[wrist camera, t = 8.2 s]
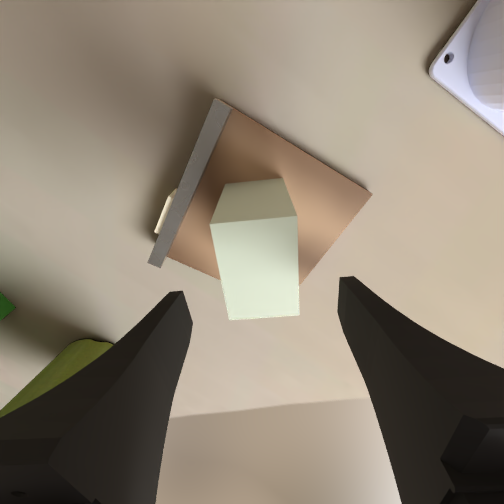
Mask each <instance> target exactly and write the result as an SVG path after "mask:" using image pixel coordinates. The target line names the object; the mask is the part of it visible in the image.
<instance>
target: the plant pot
mask: <svg viewBox="0 0 504 504" xmlns="http://www.w3.org/2000/svg"><path fill="white" fill-rule="evenodd" d="M112 346H113V344H111V343H108V342H96V341H93V340H91V339H83V340H78V341H75V342H73V343H71V344H70V345H68V346H67V347H66V348H65V349H64V350H63V351H62V352H61V353H60V354H59V355H58V356H57V357H56V358H55V359H54V360H53V361H52V362H50V363H49V364H48V365H47V366H46V367H45V368H44V369H43V370H42V371H41V372H40V373H39V374H38V375H37V376H36V377H35V378H34V379H33V380H32V381H31V382H30V383H29V384H28V385H26V386H25V387H24V388H23V389H22V390H21V391H20V392H19V393H18V394H17V395H16V396H15V397H14V398H13V399H12V400H11V401H10V402H9V403H8V404H7V405H6V406H5V407H4V408H2V409H1V410H0V418H1V417H2V416H4V415H6V414H8V413H10V412H12V411H13V410H15V409H17V408H19V407H21V406H23V405H25V404H26V403H28V402H30V401H32V400H33V399H35V398H37V397H39V396H40V395H42V394H44V393H45V392H47V391H49V390H50V389H52V388H54V387H55V386H57V385H58V384H60V383H62V382H63V381H65V380H66V379H68V378H69V377H71V376H72V375H74V374H75V373H77V372H78V371H80V370H81V369H82V368H84V367H85V366H87V365H88V364H90V363H91V362H92V361H94V360H95V359H97V358H98V357H99V356H100V355H102V354H103V353H104V352H106V351H107V350H108V349H109V348H111V347H112Z"/></svg>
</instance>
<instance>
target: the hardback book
mask: <svg viewBox="0 0 504 504" xmlns="http://www.w3.org/2000/svg"><path fill="white" fill-rule="evenodd" d="M15 308H16V307H15V306H14V305H13V304H12V303H11V302H10V301H9V300H8V299H7V298H6V297H5V296H4V295H3V294H2V293H1V292H0V321H1V320H2V319H3V318H4V317H5V316H7V315H8V314H9V313H10V312H11V311H13V310H14V309H15Z"/></svg>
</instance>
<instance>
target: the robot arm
mask: <svg viewBox="0 0 504 504" xmlns="http://www.w3.org/2000/svg"><path fill="white" fill-rule="evenodd" d="M446 54H448V55H449V60H448V62H447V63H445V62H444V57H445V55H446ZM429 75H430V77H431V78H432V79H434V80H435V81H436V82H437V83H438V84H440V85H441V86H442V87H443V88H445V89H446V90H447V91H448V92H450V93H451V94H452V95H453V96H455V97H456V98H457V99H458V100H460V101H461V102H462V103H463V104H465V105H466V106H467V107H468V108H469V109H471V110H472V111H473V112H474V113H476V114H477V115H478V116H479V117H481V118H482V119H483V120H484V121H486V122H487V123H488V124H489V125H491V126H492V127H493V128H494V129H495V130H497V131H498V132H499V133H500V134H502V135H503V136H504V0H478V1H477V2H476V3H475V5H474V6H473V7H472V9H471V10H470V12H469V13H468V14H467V16H466V17H465V18H464V20H463V21H462V23H461V24H460V25H459V27H458V28H457V29H456V31H455V32H454V34H453V35H452V36H451V38H450V39H449V40H448V42H447V43H446V45H445V46H444V47H443V49H442V50H441V51H440V53H439V54H438V55H437V57H436V58H435V60H434V61H433V62H432V64H431V66H430V68H429ZM338 315H339V319H340V322H341V326H342V329H343V332H344V335H345V337H346V339H347V342H348V344H349V346H350V349H351V351H352V353H353V356H354V358H355V360H356V362H357V365H358V367H359V369H360V372H361V374H362V376H363V378H364V381H365V383H366V386H367V389H368V391H369V394H370V398H371V401H372V403H373V407H374V409H375V412H376V416H377V419H378V422H379V426H380V429H381V432H382V435H383V439H384V442H385V445H386V449H387V452H388V455H389V459H390V462H391V466H392V469H393V473H394V476H395V480H396V484H397V487H398V491H399V495H400V499H401V502H402V504H504V369H503V368H501V367H499V366H497V365H494V364H492V363H490V362H488V361H485V360H483V359H481V358H479V357H477V356H475V355H473V354H471V353H469V352H467V351H465V350H463V349H461V348H459V347H457V346H455V345H453V344H451V343H449V342H447V341H445V340H444V339H442V338H440V337H438V336H437V335H435V334H433V333H431V332H430V331H428V330H426V329H425V328H423V327H421V326H420V325H418V324H417V323H415V322H413V321H412V320H410V319H409V318H408V317H406V316H405V315H403V314H402V313H400V312H399V311H397V310H396V309H395V308H393V307H392V306H390V305H389V304H388V303H386V302H385V301H384V300H383V299H381V298H380V297H379V296H377V295H376V294H375V293H374V292H372V291H371V290H370V289H369V288H368V287H366V286H365V285H364V284H363V283H362V282H360V281H359V280H358V279H357V278H355V277H354V276H350V277H340V281H339V297H338ZM192 325H193V322H192V319H191V315H190V312H189V309H188V306H187V303H186V300H185V296H184V293H183V291H174V292H169V293H168V294H167V295H166V296H165V297H164V298H163V299H162V300H161V301H160V302H159V303H158V304H157V305H156V306H155V307H154V308H153V309H152V310H151V311H150V312H149V313H148V314H147V315H146V316H145V317H144V318H143V319H142V320H141V321H140V322H139V323H138V324H137V325H136V326H135V327H133V328H132V329H131V330H130V331H129V332H128V333H127V334H126V335H125V336H124V337H122V338H121V339H120V340H119V341H118V342H117V343H116V344H114V345H113V346H112V347H111V348H109V349H108V350H107V351H106V352H104V353H103V354H102V355H100V356H99V357H98V358H97V359H95V360H94V361H92V362H91V363H90V364H88V365H87V366H85V367H84V368H82V369H81V370H80V371H78V372H77V373H75V374H74V375H72V376H71V377H69V378H68V379H66V380H65V381H63V382H62V383H60V384H58V385H57V386H55V387H54V388H52V389H50V390H49V391H47V392H45V393H44V394H42V395H40V396H39V397H37V398H35V399H33V400H32V401H30V402H28V403H26V404H25V405H23V406H21V407H19V408H17V409H15V410H13V411H12V412H10V413H8V414H6V415H4V416H2V417H1V418H0V504H155V502H156V494H157V487H158V480H159V473H160V466H161V461H162V454H163V448H164V443H165V437H166V431H167V426H168V421H169V416H170V411H171V406H172V401H173V397H174V393H175V389H176V386H177V383H178V380H179V376H180V373H181V370H182V367H183V363H184V360H185V357H186V353H187V350H188V347H189V343H190V338H191V332H192Z"/></svg>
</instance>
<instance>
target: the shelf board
mask: <svg viewBox="0 0 504 504" xmlns="http://www.w3.org/2000/svg"><path fill="white" fill-rule="evenodd" d="M277 178H283V179H284V182H285V185H286V187H287V190H288V193H289V195H290V198H291V200H292V203H293V206H294V208H295V211H296V214H297V222H298V273H299V285H300V284H301V283H302V282H303V281H304V279H305V278H306V277H307V276H308V274H309V273H310V272H311V271H312V269H313V268H314V267H315V266H316V264H317V263H318V262H319V261H320V259H321V258H322V257H323V256H324V254H325V253H326V252H327V251H328V249H329V248H330V247H331V246H332V244H333V243H334V242H335V241H336V239H337V238H338V237H339V236H340V234H341V233H342V232H343V231H344V229H345V228H346V227H347V226H348V224H349V223H350V222H351V221H352V219H353V218H354V217H355V216H356V214H357V213H358V212H359V211H360V209H361V208H362V207H363V206H364V204H365V203H366V202H367V201H368V199H369V198H370V197H371V196H372V195H373V194H372V193H370V192H369V191H367V190H366V189H364V188H363V187H361V186H359V185H358V184H356V183H355V182H353V181H351V180H350V179H348V178H346V177H345V176H343V175H342V174H340V173H338V172H337V171H335V170H333V169H332V168H330V167H329V166H327V165H325V164H324V163H322V162H321V161H319V160H317V159H316V158H314V157H312V156H311V155H309V154H308V153H306V152H304V151H303V150H301V149H299V148H298V147H296V146H295V145H293V144H291V143H290V142H288V141H287V140H285V139H283V138H282V137H280V136H278V135H277V134H275V133H274V132H272V131H270V130H269V129H267V128H266V127H264V126H262V125H261V124H259V123H257V122H256V121H254V120H253V119H251V118H249V117H248V116H246V115H244V114H243V113H241V112H240V111H238V110H236V109H235V108H233V107H232V106H230V105H228V104H227V103H225V102H223V101H222V100H220V99H216V98H214V100H213V103H212V105H211V107H210V110H209V112H208V115H207V117H206V120H205V122H204V125H203V127H202V130H201V132H200V135H199V137H198V140H197V142H196V144H195V147H194V149H193V152H192V154H191V157H190V159H189V162H188V164H187V167H186V169H185V172H184V174H183V177H182V179H181V181H180V184H179V186H178V189H175V190H174V191H173V192H172V193H171V194H170V195H169V196H168V198H167V201H166V203H165V206H164V208H163V211H162V213H161V216H160V219H159V221H158V224H157V226H156V229H155V231H154V232H155V233H157V234H159V236H158V238H157V241H156V243H155V246H154V248H153V250H152V253H151V255H150V258H149V260H148V263H149V264H152V265H154V266H156V267H159V268H161V266H162V265H163V263H164V261H165V259H166V258H167V257H169V258H171V259H174V260H176V261H178V262H180V263H183V264H185V265H187V266H189V267H192V268H194V269H196V270H199V271H201V272H203V273H205V274H208V275H210V276H212V277H214V278H217V279H219V280H221V278H220V273H219V268H218V263H217V258H216V253H215V248H214V244H213V239H212V234H211V229H210V222H211V219H212V217H213V214H214V212H215V209H216V206H217V204H218V201H219V199H220V196H221V194H222V191H223V189H224V186H225V184H229V183H239V182H248V181H258V180H268V179H277Z"/></svg>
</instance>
